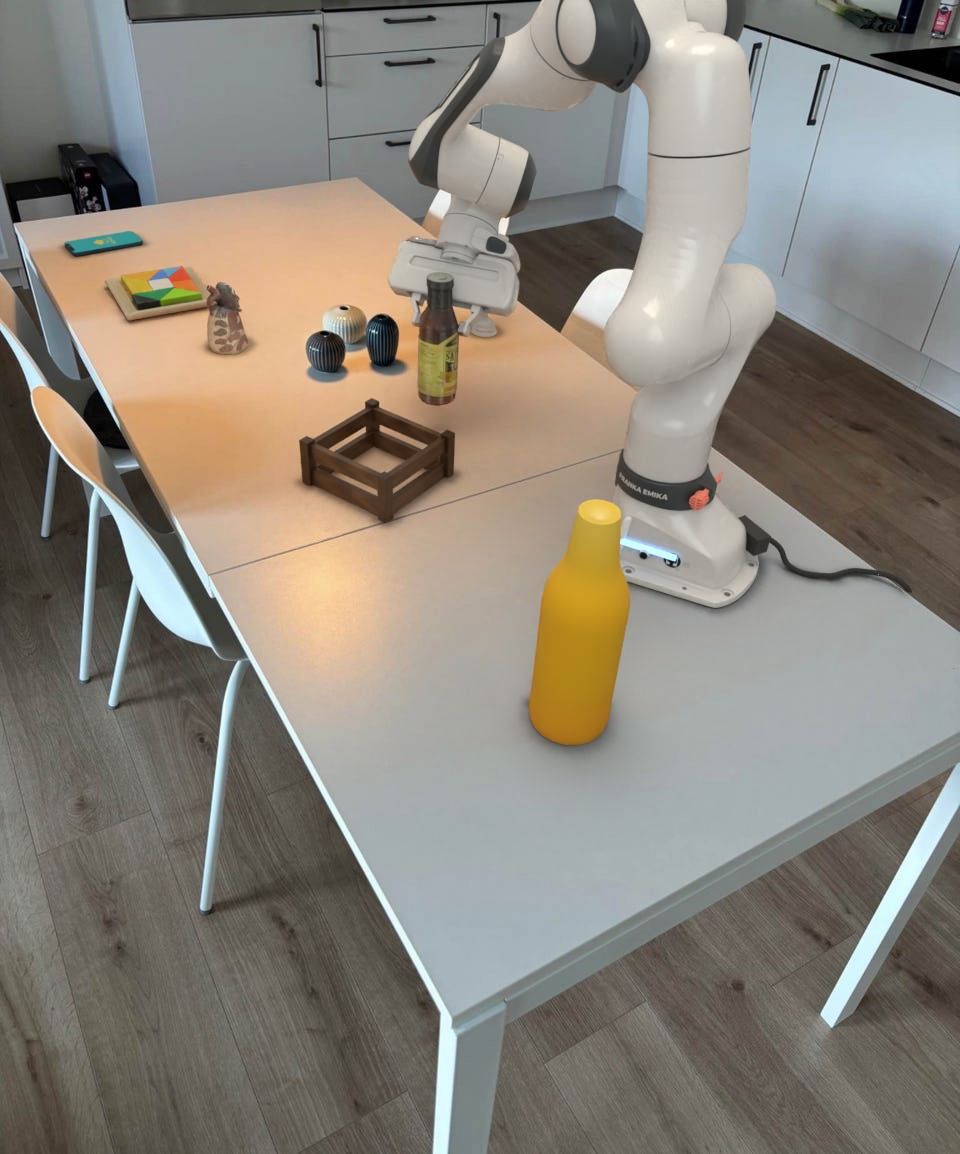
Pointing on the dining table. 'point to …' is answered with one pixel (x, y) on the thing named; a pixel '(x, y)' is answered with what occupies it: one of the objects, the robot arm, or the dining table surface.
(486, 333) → the chalice
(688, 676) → the dining table surface
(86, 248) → the smartphone
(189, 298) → the wooden puzzle
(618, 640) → the beer bottle
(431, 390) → the sauce bottle
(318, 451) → the crate
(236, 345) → the figurine
